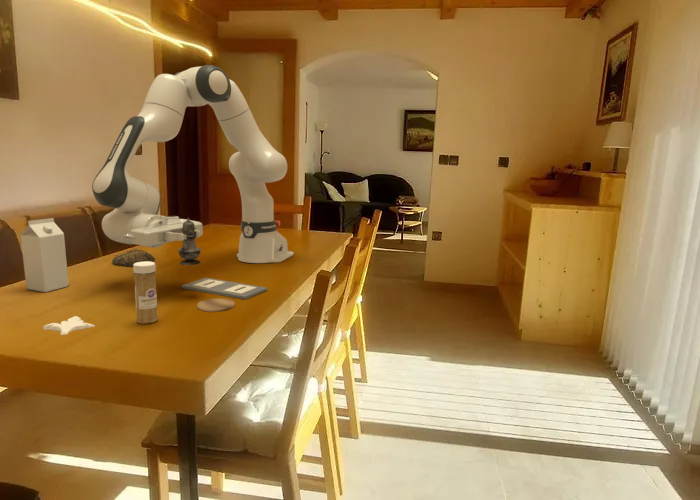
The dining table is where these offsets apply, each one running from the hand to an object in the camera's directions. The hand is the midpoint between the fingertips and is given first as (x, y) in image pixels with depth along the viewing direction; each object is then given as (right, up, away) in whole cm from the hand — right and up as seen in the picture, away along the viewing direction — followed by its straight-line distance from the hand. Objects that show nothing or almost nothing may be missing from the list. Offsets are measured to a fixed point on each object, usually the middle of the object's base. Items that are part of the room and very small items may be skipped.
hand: (191, 235), depth 124 cm
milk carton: (-42, -14, +8) cm, 45 cm away
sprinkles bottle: (-5, -20, -16) cm, 26 cm away
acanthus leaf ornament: (-19, -21, -21) cm, 35 cm away
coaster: (+7, -18, -4) cm, 20 cm away
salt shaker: (-1, -7, +2) cm, 8 cm away
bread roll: (-33, -9, +41) cm, 53 cm away
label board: (+6, -15, +11) cm, 19 cm away
